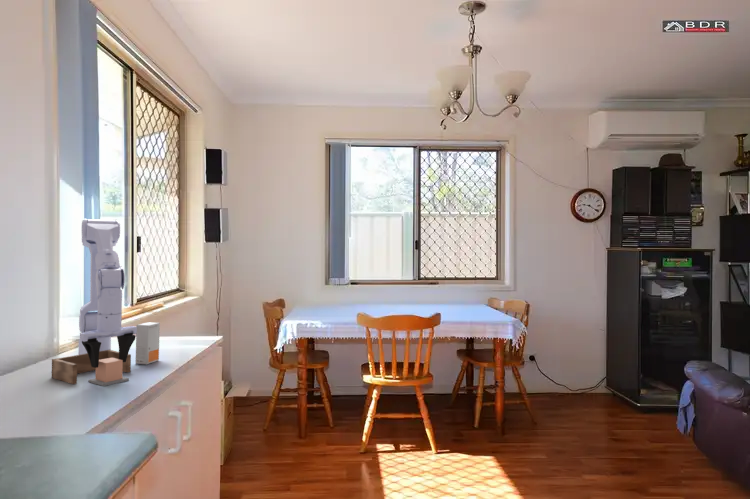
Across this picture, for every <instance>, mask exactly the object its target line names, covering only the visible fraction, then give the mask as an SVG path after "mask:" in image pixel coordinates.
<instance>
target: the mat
mask: <svg viewBox="0 0 750 499" xmlns="http://www.w3.org/2000/svg"><path fill="white" fill-rule="evenodd" d="M129 381H130V378H129V377H125V376H122V379H119V380H114V381H109V382H103V381H100V380H96V379H95V377H94V378H91V379H90V378H89V379H88V383H90V384H93V385H96V386H97V385H98V386H101V387H106V386H110V385H115V384H119V383H120V384H121V383H123V382H124V383H125V382H129Z"/></svg>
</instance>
